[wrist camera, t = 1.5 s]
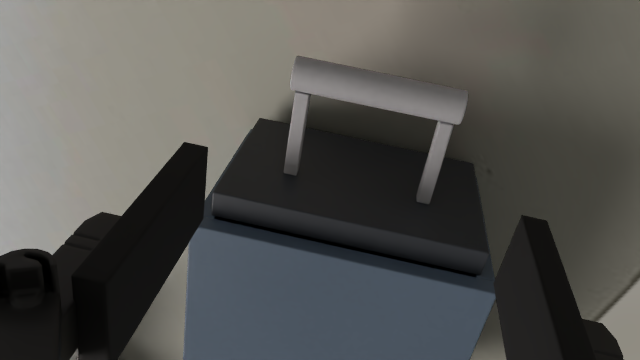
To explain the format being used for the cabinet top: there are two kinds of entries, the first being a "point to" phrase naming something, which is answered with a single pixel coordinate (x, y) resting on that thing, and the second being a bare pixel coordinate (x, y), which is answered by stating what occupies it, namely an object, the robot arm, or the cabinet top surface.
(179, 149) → the robot arm
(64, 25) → the cabinet top surface
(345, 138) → the drawer
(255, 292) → the drawer casing
